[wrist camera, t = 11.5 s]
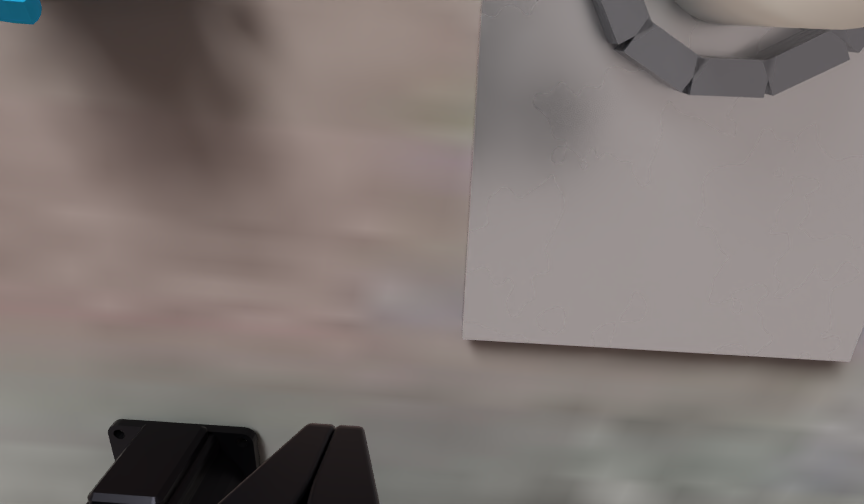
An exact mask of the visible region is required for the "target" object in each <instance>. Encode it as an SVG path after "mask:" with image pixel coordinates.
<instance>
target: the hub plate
mask: <svg viewBox="0 0 864 504" xmlns="http://www.w3.org/2000/svg"><path fill="white" fill-rule="evenodd" d="M863 326H864V27H861V28H855V29H846V30H832V29H808V28H785V27H761V26H738V25H719V24H713V23H709V22H706V21H703V20H700V19H698V18H696V17H694V16H692V15H690V14H689V13H687V12H686V11H685V10H683V9H682V8H681V7H680V6H679V5H678V4H677V3H676V2H675V1H674V0H481V15H480V32H479V49H478V66H477V83H476V100H475V117H474V134H473V152H472V169H471V186H470V203H469V220H468V237H467V254H466V271H465V288H464V305H463V323H462V339H467V340H484V341H501V342H518V343H535V344H552V345H570V346H587V347H604V348H621V349H638V350H655V351H672V352H690V353H707V354H724V355H741V356H758V357H775V358H793V359H810V360H827V361H844V362H850V360H851V357H852V354H853V352H854V349H855V347H856V344H857V342H858V339H859V336H860V334H861V331H862V329H863Z"/></svg>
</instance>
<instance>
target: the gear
mask: <svg viewBox="0 0 864 504" xmlns="http://www.w3.org/2000/svg"><path fill="white" fill-rule="evenodd" d="M41 11H42V6H41V2H40V0H0V21H4V22H11V23H21V24H34V23H35V22H36V21H38V19H39V17H40V15H41Z"/></svg>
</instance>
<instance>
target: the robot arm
mask: <svg viewBox="0 0 864 504" xmlns="http://www.w3.org/2000/svg"><path fill="white" fill-rule="evenodd" d="M108 435H109V439H110V443H111V447H112V451H113V455H114V459H115V462H114V463H113V465H112V466H111V467H110V468H109V470H108V471H107V472H106V473H105V475H104V476H103V477H102V478H101V480H100V481H99V482H98V483H97V485H96V486H95V487H94V488H93V490H92V491H91V492H90V493H89V495H88V502H87V503H86V504H380V503H379V499H378V494H377V489H376V484H375V479H374V474H373V470H372V465H371V460H370V455H369V450H368V445H367V441H366V436H365V431H364V429H363V428H362V427H360V426H346V425H339V426H338V427H336V428H335V426H333V425H331V424H317V423H311V424H308V425H306V426H305V427H304V428H302V429H301V430H300V431H299V432H298V433H297V434H296V435H295V436H293V437H292V438H291V439H290V440H289V441H288V442H287V443H286V444H284V445H283V446H282V447H281V448H280V449H279V450H278V451H277V452H275V453H274V454H273V455H272V456H271V457H270V458H269V459H268V460H266V461H265V462H264V463H263V464H262V465H261V466H260V460H259V452H258V443H257V436H256V434H255V433H254V431H253V430H251V429H249V428H245V427H232V426H217V425H202V424H187V423H172V422H157V421H142V420H127V419H119V420H117V421H115V422H114V423H113V424H112V426H111V427H110V428H109V430H108ZM241 438H243V439H245V440H247V441H244V440H242V439H241Z"/></svg>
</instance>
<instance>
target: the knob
mask: <svg viewBox="0 0 864 504" xmlns="http://www.w3.org/2000/svg"><path fill="white" fill-rule="evenodd" d="M674 1H675V2H676V3H677V4H678V5H679V6H680V7H681V8H682V9H683V10H685V11H686V12H687V13H689V14H690V15H692V16H694V17H696V18H698V19H700V20H703V21H706V22H709V23H713V24H719V25H738V26H761V27H785V28H808V29H832V30H846V29H855V28H861V27H864V0H674Z"/></svg>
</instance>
